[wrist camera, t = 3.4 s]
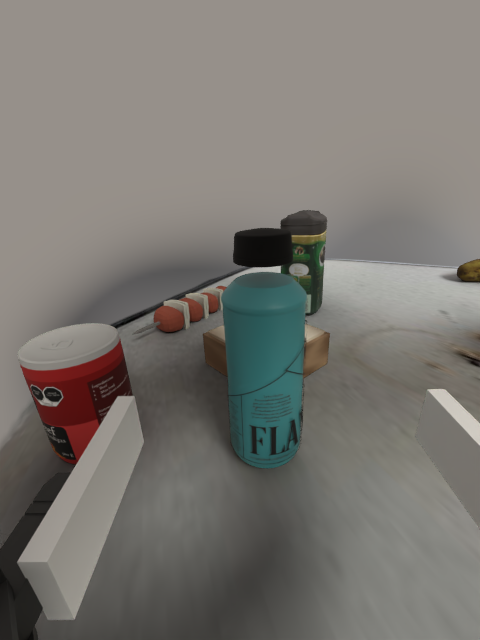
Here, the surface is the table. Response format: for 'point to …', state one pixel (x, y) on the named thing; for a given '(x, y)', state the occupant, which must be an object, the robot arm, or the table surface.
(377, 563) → the table surface
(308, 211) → the coffee jar
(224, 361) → the walnut pedestal
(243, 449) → the beverage bottle
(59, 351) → the canned food
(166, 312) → the skewer
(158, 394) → the table surface
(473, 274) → the potato
